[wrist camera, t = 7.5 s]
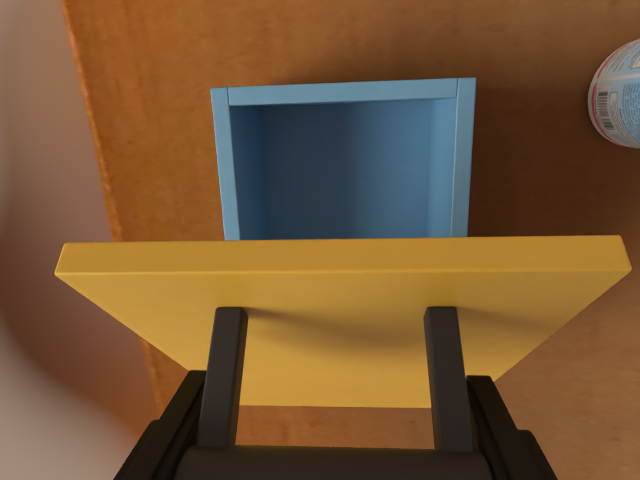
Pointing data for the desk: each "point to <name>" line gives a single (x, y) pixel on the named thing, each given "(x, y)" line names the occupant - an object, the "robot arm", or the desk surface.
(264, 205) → the blue open box
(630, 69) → the pill bottle
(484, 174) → the desk surface
